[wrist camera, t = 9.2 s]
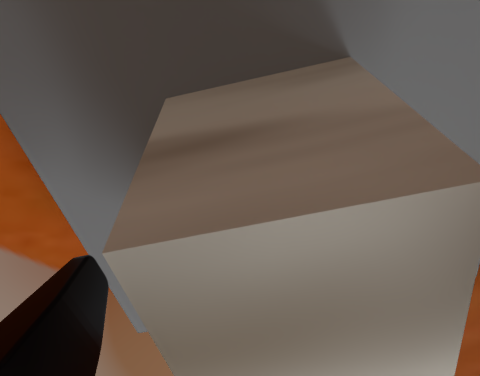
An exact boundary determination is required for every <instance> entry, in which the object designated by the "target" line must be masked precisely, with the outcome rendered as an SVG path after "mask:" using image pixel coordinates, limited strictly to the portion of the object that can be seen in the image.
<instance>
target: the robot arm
mask: <svg viewBox="0 0 480 376" xmlns="http://www.w3.org/2000/svg"><path fill="white" fill-rule="evenodd" d="M107 297H108V280H107V278H106V276H105V274H104V273H103V271H102V269H101V268H100V266H99V265H98V263H97V261H96V260H95V258H94V257H92V256H91V255H86V256H80V257H76V258H73V259H71V260H70V261H69V262H68V263H67V264H66V265H65V266H63V267H62V268H61V269H60V270H59V271H58V272H57V273H55V274H54V275H53V276H52V277H51V278H50V279H49V280H48V281H46V282H45V283H44V284H43V285H42V286H41V287H40V288H39V289H37V290H36V291H35V292H34V293H33V294H32V295H31V296H29V297H28V298H27V299H26V300H25V301H24V302H23V303H21V304H20V305H19V306H18V307H17V308H16V309H15V310H14V311H12V312H11V313H10V314H9V315H8V316H7V317H6V318H4V319H3V320H2V321H1V322H0V376H95V373H96V369H97V365H98V360H99V355H100V350H101V345H102V338H103V330H104V321H105V313H106V305H107Z"/></svg>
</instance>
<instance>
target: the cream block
mask: <svg viewBox="0 0 480 376" xmlns="http://www.w3.org/2000/svg"><path fill="white" fill-rule="evenodd" d="M102 254H103V256H104V258H105V260H106V261H107V263H108V265H109V266H110V268H111V270H112V271H113V273H114V275H115V276H116V278H117V280H118V282H119V283H120V285H121V287H122V288H123V290H124V292H125V293H126V295H127V297H128V298H129V300H130V302H131V304H132V305H133V307H134V309H135V310H136V312H137V314H138V315H139V317H140V319H141V320H142V322H143V324H144V326H145V327H146V329H147V331H148V332H149V334H150V336H151V337H152V339H153V341H154V343H155V344H156V346H157V347H158V349H159V351H160V353H161V354H162V356H163V358H164V359H165V361H166V363H167V364H168V366H169V368H170V370H171V371H172V373H173V375H174V376H454V374H455V370H456V365H457V361H458V356H459V351H460V347H461V342H462V337H463V333H464V328H465V323H466V319H467V314H468V309H469V305H470V300H471V295H472V291H473V286H474V281H475V277H476V272H477V267H478V263H479V258H480V165H479V164H478V163H477V162H476V161H475V160H473V159H472V158H471V157H470V156H469V155H467V154H466V153H465V152H464V151H463V150H461V149H460V148H459V147H458V146H457V145H455V144H454V143H453V142H452V141H451V140H449V139H448V138H447V137H446V136H445V135H444V134H442V133H441V132H440V131H439V130H438V129H436V128H435V127H434V126H433V125H432V124H430V123H429V122H428V121H427V120H426V119H424V118H423V117H422V116H421V115H420V114H418V113H417V112H416V111H415V110H414V109H412V108H411V107H410V106H409V105H408V104H406V103H405V102H404V101H403V100H402V99H400V98H399V97H398V96H397V95H396V94H394V93H393V92H392V91H391V90H390V89H389V88H387V87H386V86H385V85H384V84H383V83H381V82H380V81H379V80H378V79H377V78H375V77H374V76H373V75H372V74H371V73H369V72H368V71H367V70H366V69H365V68H363V67H362V66H361V65H360V64H359V63H357V62H356V61H355V60H354V59H353V58H351V57H347V58H343V59H338V60H334V61H330V62H325V63H321V64H316V65H312V66H307V67H303V68H299V69H294V70H290V71H285V72H281V73H277V74H272V75H268V76H263V77H259V78H254V79H250V80H246V81H241V82H237V83H232V84H228V85H224V86H219V87H215V88H210V89H206V90H201V91H197V92H193V93H188V94H184V95H179V96H175V97H171V98H166V100H165V102H164V104H163V107H162V109H161V112H160V114H159V116H158V119H157V121H156V124H155V126H154V129H153V131H152V133H151V136H150V138H149V141H148V143H147V145H146V148H145V150H144V153H143V155H142V158H141V160H140V162H139V165H138V167H137V170H136V172H135V174H134V177H133V179H132V182H131V184H130V187H129V189H128V191H127V194H126V196H125V199H124V201H123V203H122V206H121V208H120V211H119V213H118V216H117V218H116V220H115V223H114V225H113V228H112V230H111V232H110V235H109V237H108V240H107V242H106V245H105V247H104V249H103V252H102Z"/></svg>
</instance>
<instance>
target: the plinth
mask: <svg viewBox="0 0 480 376" xmlns="http://www.w3.org/2000/svg"><path fill="white" fill-rule="evenodd" d="M347 57H351V58H353V59H354V60H355V61H356V62H357V63H359V64H360V65H361V66H362V67H363V68H365V69H366V70H367V71H368V72H369V73H371V74H372V75H373V76H374V77H375V78H377V79H378V80H379V81H380V82H381V83H383V84H384V85H385V86H386V87H387V88H389V89H390V90H391V91H392V92H393V93H394V94H396V95H397V96H398V97H399V98H400V99H402V100H403V101H404V102H405V103H406V104H408V105H409V106H410V107H411V108H412V109H414V110H415V111H416V112H417V113H418V114H420V115H421V116H422V117H423V118H424V119H426V120H427V121H428V122H429V123H430V124H432V125H433V126H434V127H435V128H436V129H438V130H439V131H440V132H441V133H442V134H444V135H445V136H446V137H447V138H448V139H449V140H451V141H452V142H453V143H454V144H455V145H457V146H458V147H459V148H460V149H461V150H463V151H464V152H465V153H466V154H467V155H469V156H470V157H471V158H472V159H473V160H475V161H476V162H477V163H478V164H479V165H480V0H0V114H1V115H2V117H3V118H4V120H5V122H6V123H7V125H8V126H9V128H10V130H11V131H12V133H13V134H14V136H15V138H16V139H17V141H18V142H19V144H20V146H21V147H22V149H23V150H24V152H25V154H26V155H27V157H28V158H29V160H30V161H31V163H32V165H33V166H34V168H35V169H36V171H37V173H38V174H39V176H40V177H41V179H42V181H43V182H44V184H45V185H46V187H47V189H48V190H49V192H50V193H51V195H52V197H53V198H54V200H55V201H56V203H57V205H58V206H59V208H60V209H61V211H62V213H63V214H64V216H65V217H66V219H67V221H68V222H69V224H70V225H71V227H72V229H73V230H74V232H75V233H76V235H77V237H78V238H79V240H80V241H81V243H82V244H83V246H84V248H85V249H86V251H87V252H88V254H89V255H91V256H92V257H94V258H95V260H96V261H97V263H98V265H99V266H100V268H101V269H102V271H103V273H104V274H105V276H106V278H107V280H108V286H109V288H110V289H111V291H112V292H113V294H114V296H115V297H116V299H117V300H118V302H119V304H120V305H121V307H122V308H123V310H124V311H125V313H126V315H127V316H128V318H129V319H130V321H131V323H132V324H133V326H134V327H135V329H136V331H137V332H138V333H142V332H147V329H146V327H145V326H144V324H143V322H142V320H141V319H140V317H139V315H138V314H137V312H136V310H135V309H134V307H133V305H132V304H131V302H130V300H129V298H128V297H127V295H126V293H125V292H124V290H123V288H122V287H121V285H120V283H119V282H118V280H117V278H116V276H115V275H114V273H113V271H112V270H111V268H110V266H109V265H108V263H107V261H106V260H105V258H104V256H103V254H102V252H103V249H104V247H105V245H106V242H107V240H108V237H109V235H110V232H111V230H112V228H113V225H114V223H115V220H116V218H117V216H118V213H119V211H120V208H121V206H122V203H123V201H124V199H125V196H126V194H127V191H128V189H129V187H130V184H131V182H132V179H133V177H134V174H135V172H136V170H137V167H138V165H139V162H140V160H141V158H142V155H143V153H144V150H145V148H146V145H147V143H148V141H149V138H150V136H151V133H152V131H153V129H154V126H155V124H156V121H157V119H158V116H159V114H160V112H161V109H162V107H163V104H164V102H165V100H166V98H171V97H175V96H179V95H184V94H188V93H193V92H197V91H201V90H206V89H210V88H215V87H219V86H224V85H228V84H232V83H237V82H241V81H246V80H250V79H254V78H259V77H263V76H268V75H272V74H277V73H281V72H285V71H290V70H294V69H299V68H303V67H307V66H312V65H316V64H321V63H325V62H330V61H334V60H338V59H343V58H347ZM479 263H480V258H479ZM479 263H478V267H479ZM478 267H477V272H478ZM477 272H476V276H477Z"/></svg>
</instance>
